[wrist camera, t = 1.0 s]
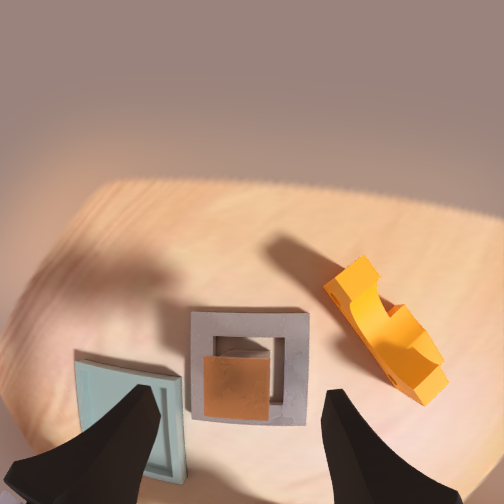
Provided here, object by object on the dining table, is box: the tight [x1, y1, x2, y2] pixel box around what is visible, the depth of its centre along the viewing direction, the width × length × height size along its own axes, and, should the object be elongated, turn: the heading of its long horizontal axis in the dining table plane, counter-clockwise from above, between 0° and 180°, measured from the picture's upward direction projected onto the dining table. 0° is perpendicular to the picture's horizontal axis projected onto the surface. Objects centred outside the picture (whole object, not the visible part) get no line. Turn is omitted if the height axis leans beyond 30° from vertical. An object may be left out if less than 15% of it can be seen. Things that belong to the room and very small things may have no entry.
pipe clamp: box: [323, 255, 449, 407], centre depth 20 cm, size 12×4×6 cm, turn 36°
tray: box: [75, 360, 187, 485], centre depth 22 cm, size 12×12×2 cm
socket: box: [190, 311, 310, 426], centre depth 23 cm, size 10×10×1 cm
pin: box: [203, 349, 270, 421], centre depth 20 cm, size 4×4×7 cm
